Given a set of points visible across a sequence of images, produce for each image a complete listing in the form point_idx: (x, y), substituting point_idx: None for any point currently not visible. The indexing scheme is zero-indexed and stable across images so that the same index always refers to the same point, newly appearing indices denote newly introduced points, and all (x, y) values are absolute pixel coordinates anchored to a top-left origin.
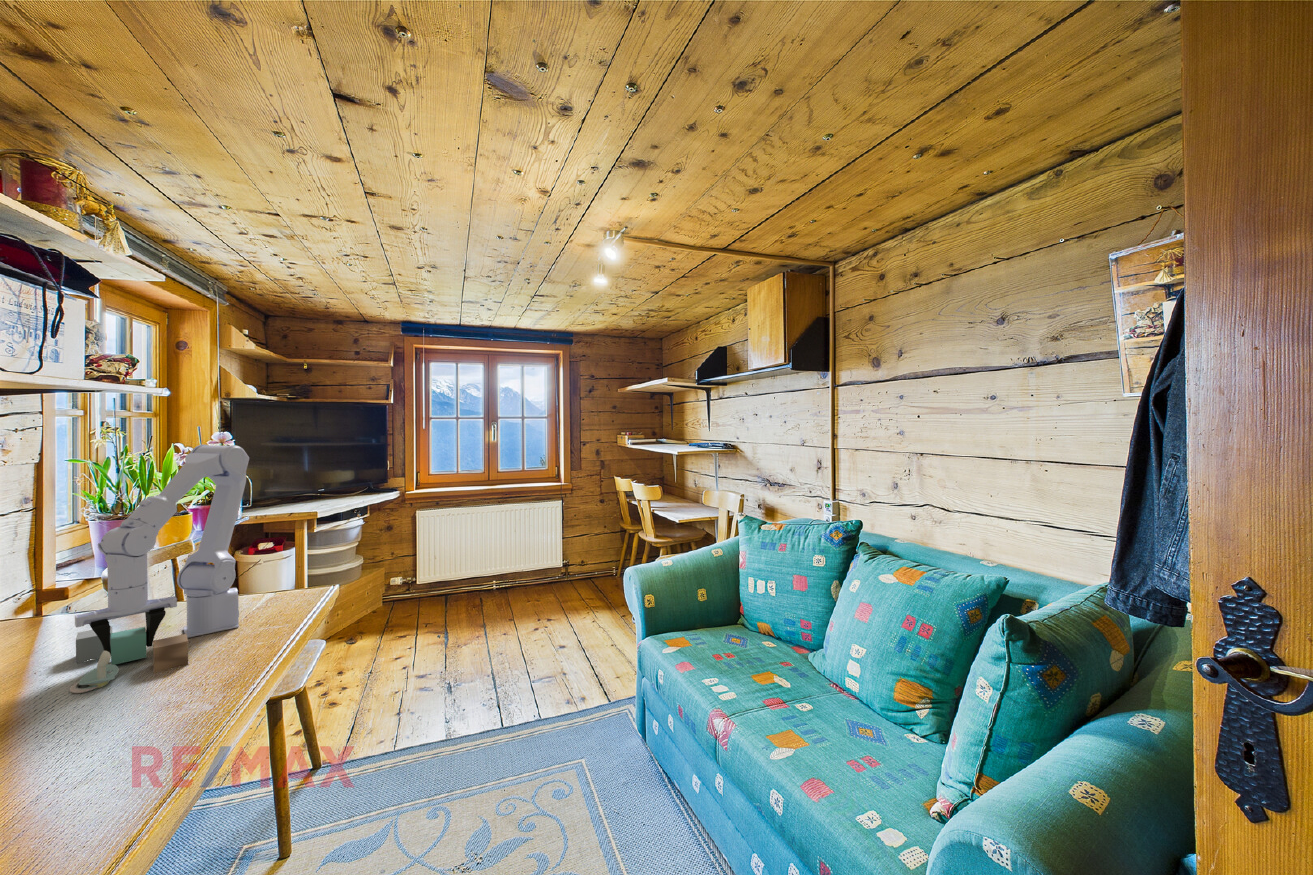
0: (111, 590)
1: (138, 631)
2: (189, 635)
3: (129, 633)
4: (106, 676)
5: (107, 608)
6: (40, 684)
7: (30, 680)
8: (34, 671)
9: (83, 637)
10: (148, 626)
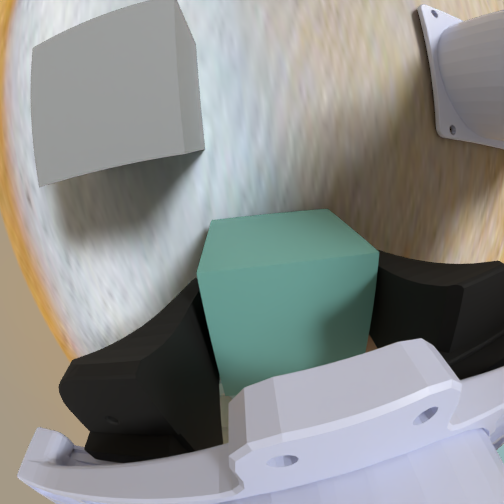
0: None
1: (339, 332)
2: (448, 134)
3: (298, 340)
4: (233, 396)
5: (143, 498)
6: (78, 313)
7: (41, 261)
8: (22, 179)
9: (59, 158)
10: (388, 342)
